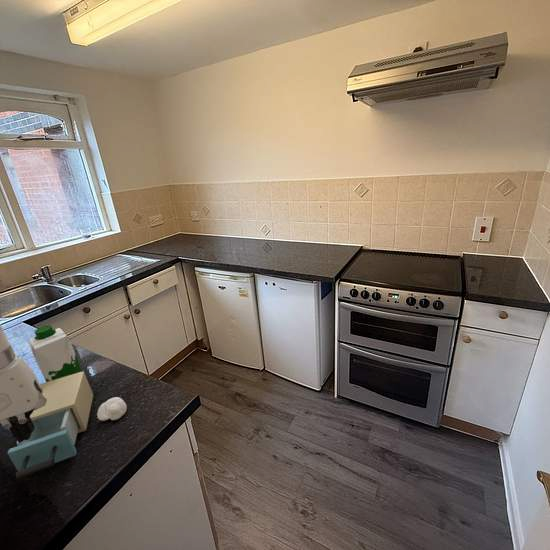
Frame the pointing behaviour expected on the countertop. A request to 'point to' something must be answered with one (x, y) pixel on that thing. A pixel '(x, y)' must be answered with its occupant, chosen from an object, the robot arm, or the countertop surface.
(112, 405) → the dumpling
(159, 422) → the countertop surface
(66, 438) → the drawer
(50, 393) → the cabinet
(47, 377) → the milk carton
